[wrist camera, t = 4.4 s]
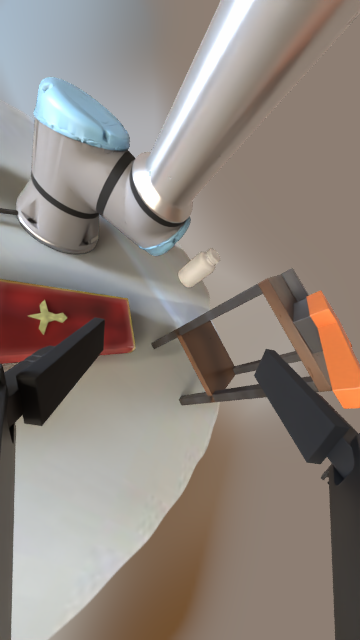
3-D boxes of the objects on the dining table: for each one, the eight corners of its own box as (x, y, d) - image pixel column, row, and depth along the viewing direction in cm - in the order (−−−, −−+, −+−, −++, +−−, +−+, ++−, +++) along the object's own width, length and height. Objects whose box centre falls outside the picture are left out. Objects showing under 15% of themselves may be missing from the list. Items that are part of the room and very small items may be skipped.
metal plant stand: (181, 405, 41) (353, 389, 21) (151, 343, 43) (282, 269, 22) (207, 378, 51) (340, 348, 30) (181, 328, 53) (292, 268, 32)
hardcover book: (127, 354, 37) (136, 348, 35) (-18, 367, 23) (-22, 360, 20) (120, 306, 41) (128, 297, 38) (-7, 291, 27) (-9, 276, 24)
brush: (325, 427, 14) (394, 429, 12) (290, 375, 14) (354, 364, 11) (309, 329, 29) (339, 320, 26) (292, 302, 28) (320, 290, 26)
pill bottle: (174, 276, 61) (205, 248, 52) (181, 267, 67) (210, 241, 57) (189, 292, 64) (221, 268, 54) (194, 282, 69) (224, 259, 60)
